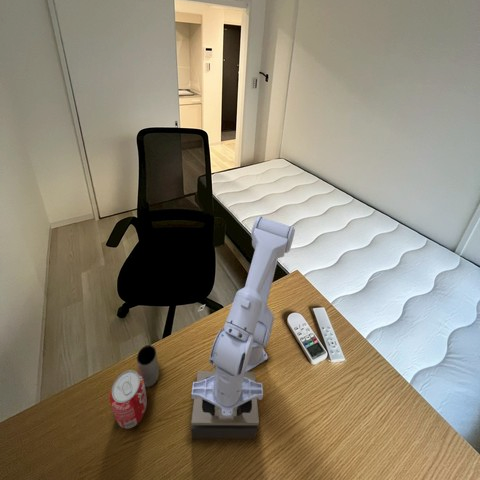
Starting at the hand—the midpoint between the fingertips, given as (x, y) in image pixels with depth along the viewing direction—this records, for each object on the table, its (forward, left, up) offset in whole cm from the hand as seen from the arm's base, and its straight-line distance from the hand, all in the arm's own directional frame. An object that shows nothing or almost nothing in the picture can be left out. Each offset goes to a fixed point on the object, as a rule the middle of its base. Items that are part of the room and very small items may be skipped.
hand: (225, 409), depth 54 cm
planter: (-18, -14, -9) cm, 24 cm away
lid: (-3, +1, -2) cm, 4 cm away
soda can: (-13, -19, -9) cm, 24 cm away
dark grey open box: (-3, +1, -9) cm, 9 cm away
